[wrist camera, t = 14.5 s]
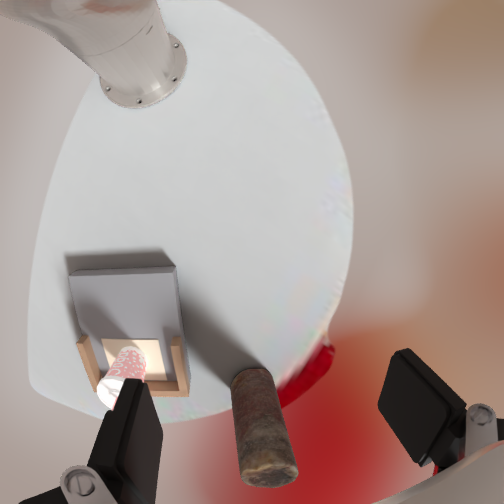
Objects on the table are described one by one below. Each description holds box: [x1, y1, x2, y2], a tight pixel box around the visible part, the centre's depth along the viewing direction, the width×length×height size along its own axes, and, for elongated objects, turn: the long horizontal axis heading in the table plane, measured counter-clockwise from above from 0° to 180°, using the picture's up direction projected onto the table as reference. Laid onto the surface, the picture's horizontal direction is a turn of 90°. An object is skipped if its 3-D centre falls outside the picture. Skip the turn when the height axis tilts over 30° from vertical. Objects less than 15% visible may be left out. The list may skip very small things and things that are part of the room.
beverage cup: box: [97, 346, 148, 411], centre depth 31 cm, size 6×6×14 cm
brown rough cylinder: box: [230, 369, 298, 488], centre depth 35 cm, size 8×7×20 cm
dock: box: [68, 266, 191, 397], centre depth 37 cm, size 19×16×6 cm
